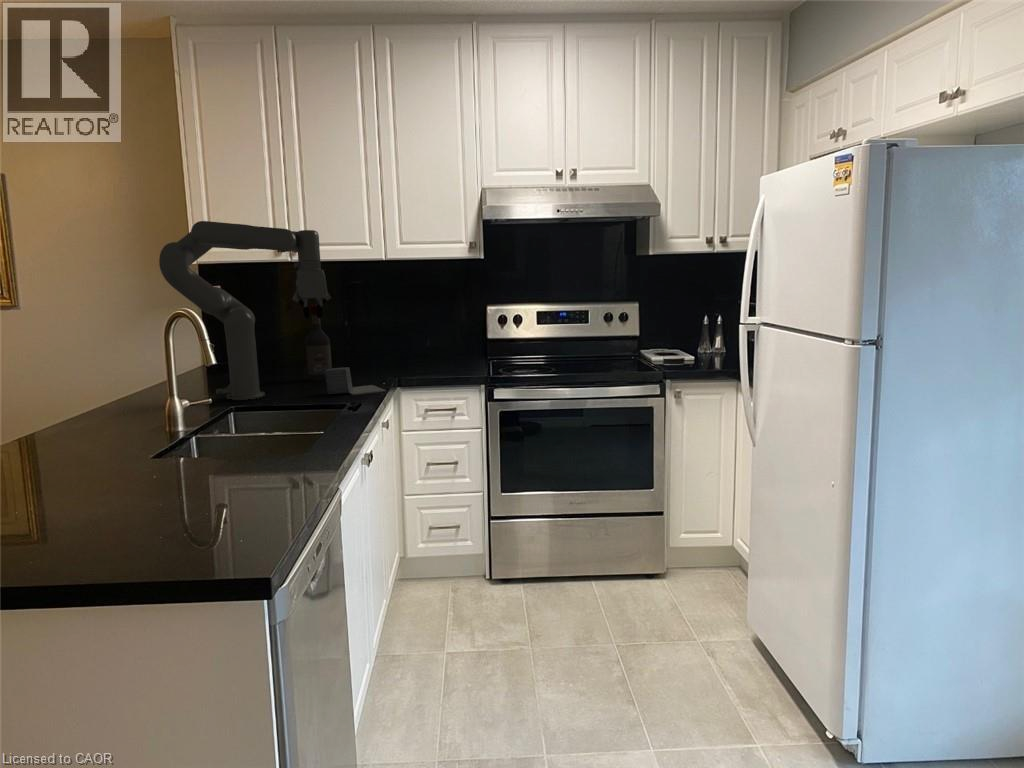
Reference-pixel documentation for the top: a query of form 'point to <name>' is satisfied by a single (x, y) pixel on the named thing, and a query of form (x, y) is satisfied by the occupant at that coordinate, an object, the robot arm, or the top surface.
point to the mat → (366, 390)
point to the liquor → (317, 350)
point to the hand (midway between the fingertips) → (313, 317)
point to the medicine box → (338, 380)
